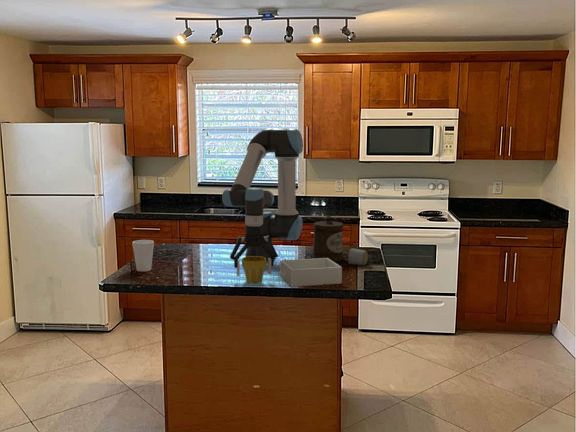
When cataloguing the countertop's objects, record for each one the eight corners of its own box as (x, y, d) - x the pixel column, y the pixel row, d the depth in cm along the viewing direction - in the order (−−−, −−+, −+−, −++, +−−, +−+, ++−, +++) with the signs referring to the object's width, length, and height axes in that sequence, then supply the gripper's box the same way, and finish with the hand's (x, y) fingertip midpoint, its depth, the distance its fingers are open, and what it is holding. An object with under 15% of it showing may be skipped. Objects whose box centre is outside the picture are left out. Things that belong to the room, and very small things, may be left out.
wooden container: (333, 263, 264) (335, 218, 261) (307, 259, 272) (308, 216, 269) (347, 257, 277) (348, 215, 273) (321, 254, 284) (322, 212, 281)
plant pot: (247, 285, 223) (247, 262, 222) (238, 279, 232) (238, 257, 231) (270, 282, 228) (270, 259, 226) (260, 276, 237) (260, 255, 235)
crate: (280, 275, 239) (280, 260, 238) (327, 273, 245) (327, 257, 244) (291, 286, 222) (291, 270, 221) (341, 283, 228) (341, 267, 227)
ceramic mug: (364, 267, 257) (364, 251, 256) (347, 265, 260) (348, 249, 260) (369, 262, 267) (370, 247, 266) (353, 261, 270) (354, 246, 269)
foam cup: (158, 268, 250) (157, 240, 248) (147, 273, 241) (146, 244, 239) (140, 266, 253) (140, 239, 251) (128, 271, 244) (128, 242, 242)
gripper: (226, 227, 220) (226, 278, 223) (285, 225, 226) (284, 275, 229) (223, 224, 227) (223, 273, 230) (280, 222, 233) (280, 271, 236)
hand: (253, 274), depth 229 cm, fingers open, 13 cm apart
